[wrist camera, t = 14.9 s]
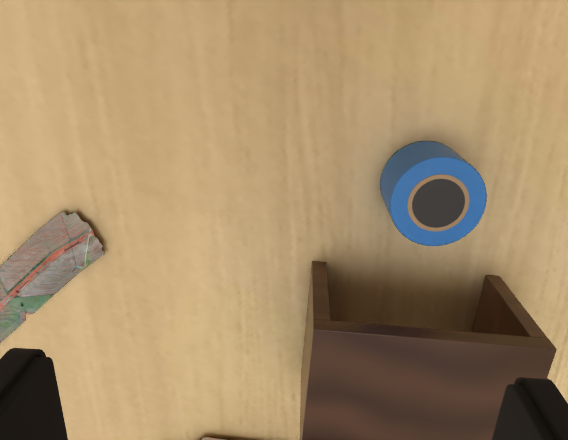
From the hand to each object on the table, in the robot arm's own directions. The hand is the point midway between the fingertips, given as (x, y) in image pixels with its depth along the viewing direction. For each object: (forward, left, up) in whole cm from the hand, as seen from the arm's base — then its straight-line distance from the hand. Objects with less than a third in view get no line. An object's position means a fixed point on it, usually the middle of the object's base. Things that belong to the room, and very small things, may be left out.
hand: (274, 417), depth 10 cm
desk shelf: (+17, +10, -29) cm, 35 cm away
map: (+16, -24, -29) cm, 41 cm away
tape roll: (+3, +10, -29) cm, 31 cm away
